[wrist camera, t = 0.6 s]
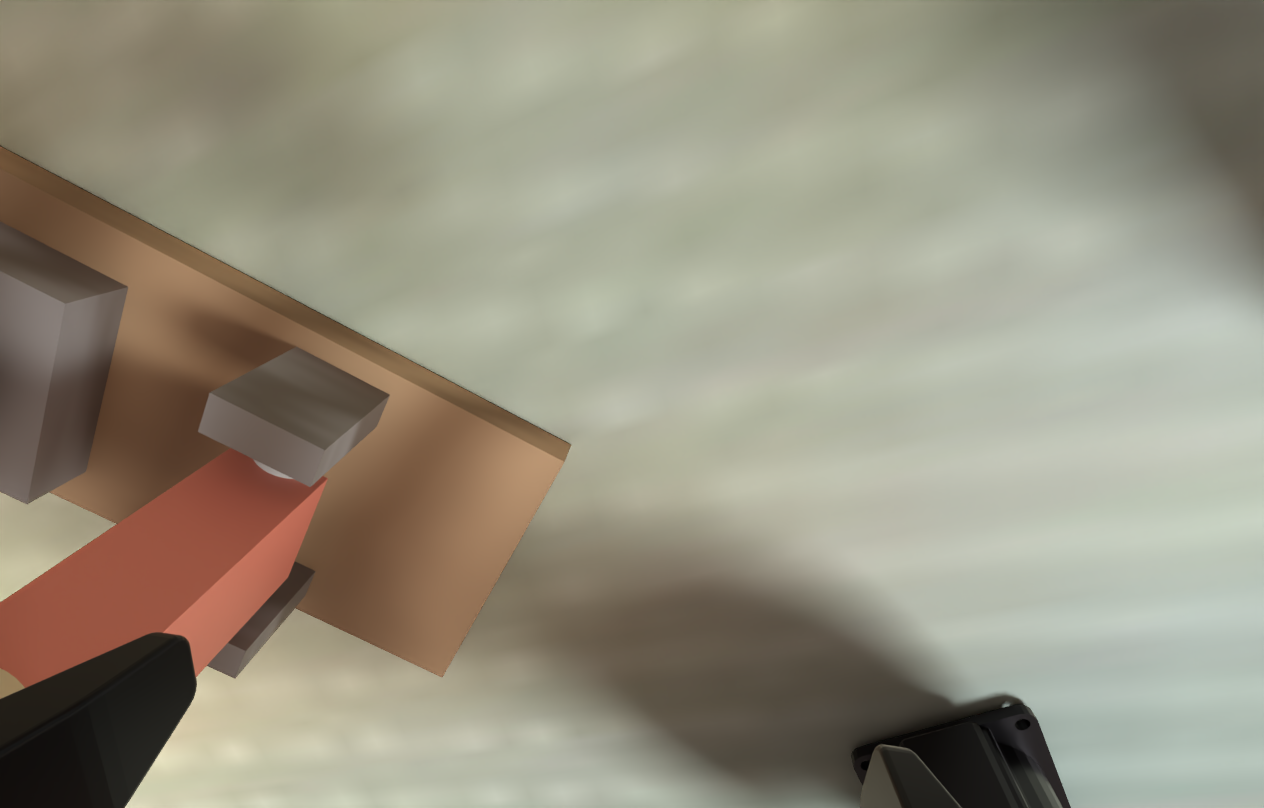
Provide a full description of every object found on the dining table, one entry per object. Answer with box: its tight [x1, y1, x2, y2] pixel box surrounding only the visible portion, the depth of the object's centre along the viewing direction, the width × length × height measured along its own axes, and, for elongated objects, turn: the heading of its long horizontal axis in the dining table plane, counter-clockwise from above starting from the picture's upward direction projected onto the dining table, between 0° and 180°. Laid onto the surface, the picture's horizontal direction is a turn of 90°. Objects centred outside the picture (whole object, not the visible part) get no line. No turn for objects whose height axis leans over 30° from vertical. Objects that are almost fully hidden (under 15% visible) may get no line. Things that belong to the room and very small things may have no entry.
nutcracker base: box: [0, 146, 571, 678], centre depth 20 cm, size 20×10×5 cm, turn 62°
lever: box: [0, 448, 328, 699], centre depth 15 cm, size 3×5×12 cm, turn 151°
